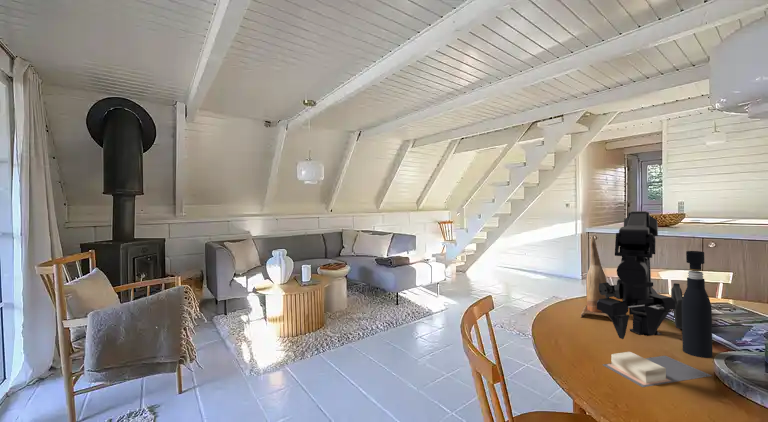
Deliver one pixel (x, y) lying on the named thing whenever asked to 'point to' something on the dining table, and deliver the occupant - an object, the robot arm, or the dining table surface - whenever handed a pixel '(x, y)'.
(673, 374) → the mat
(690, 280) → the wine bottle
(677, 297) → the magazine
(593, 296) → the brown tall tapered piece
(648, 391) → the dining table surface
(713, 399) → the dining table surface
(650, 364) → the block
